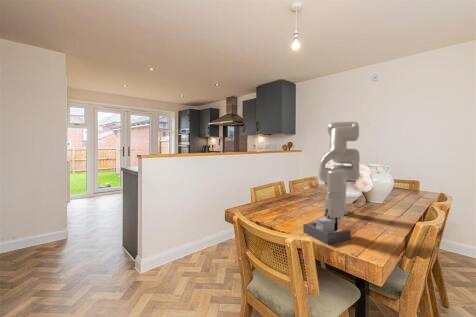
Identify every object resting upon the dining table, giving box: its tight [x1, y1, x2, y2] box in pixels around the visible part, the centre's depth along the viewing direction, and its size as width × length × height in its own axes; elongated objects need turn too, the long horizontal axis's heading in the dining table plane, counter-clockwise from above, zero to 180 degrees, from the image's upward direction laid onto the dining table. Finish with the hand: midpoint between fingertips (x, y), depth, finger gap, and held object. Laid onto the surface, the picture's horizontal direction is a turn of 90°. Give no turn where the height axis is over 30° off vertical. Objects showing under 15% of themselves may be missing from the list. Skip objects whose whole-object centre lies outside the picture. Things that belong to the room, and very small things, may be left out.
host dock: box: [302, 221, 352, 245], centre depth 112 cm, size 15×16×5 cm
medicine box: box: [315, 217, 335, 234], centre depth 111 cm, size 8×4×9 cm, turn 116°
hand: (333, 230), depth 115 cm, fingers closed
